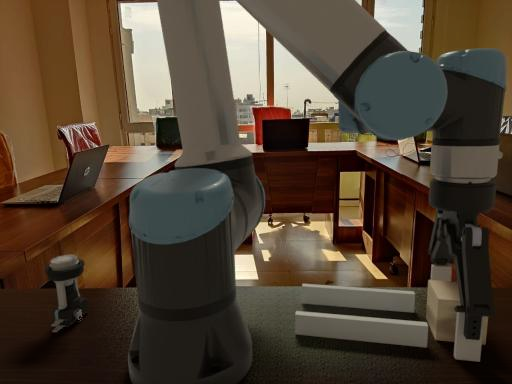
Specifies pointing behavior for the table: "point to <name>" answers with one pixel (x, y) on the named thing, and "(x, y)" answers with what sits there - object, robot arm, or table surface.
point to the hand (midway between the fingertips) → (451, 328)
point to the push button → (67, 289)
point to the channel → (356, 325)
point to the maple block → (445, 310)
